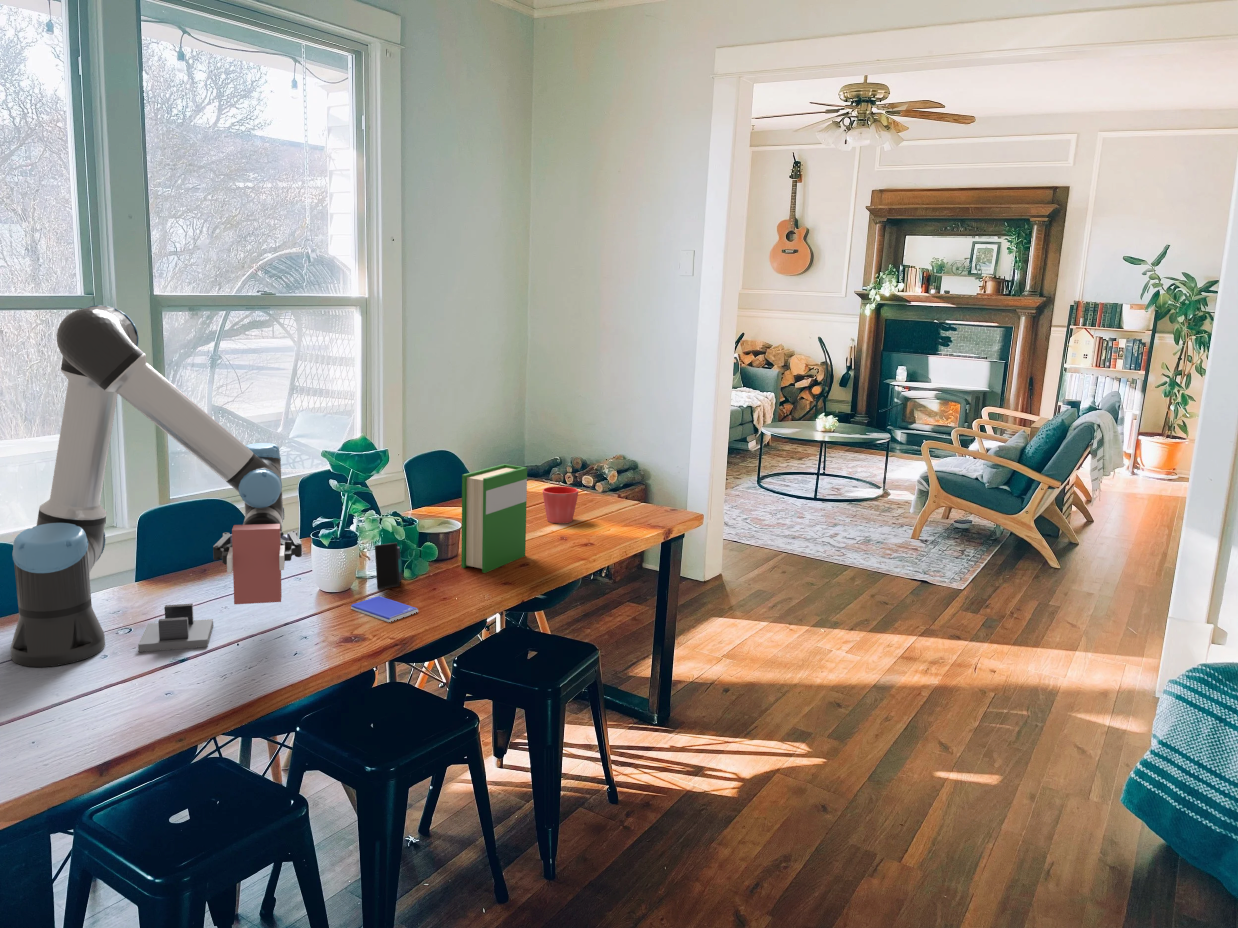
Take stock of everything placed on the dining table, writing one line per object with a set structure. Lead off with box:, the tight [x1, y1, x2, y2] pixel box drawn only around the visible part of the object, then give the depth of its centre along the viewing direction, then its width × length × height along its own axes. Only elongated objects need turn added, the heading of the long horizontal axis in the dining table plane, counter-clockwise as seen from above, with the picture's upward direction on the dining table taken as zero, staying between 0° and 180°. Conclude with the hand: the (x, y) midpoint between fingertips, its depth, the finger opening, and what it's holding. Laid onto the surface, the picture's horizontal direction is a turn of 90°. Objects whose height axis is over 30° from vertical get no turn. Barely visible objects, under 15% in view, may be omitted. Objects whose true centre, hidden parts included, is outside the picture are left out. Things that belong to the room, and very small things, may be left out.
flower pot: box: [541, 485, 579, 524], centre depth 281 cm, size 11×11×10 cm
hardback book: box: [460, 463, 528, 574], centre depth 237 cm, size 18×7×24 cm, turn 151°
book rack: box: [137, 603, 214, 653], centre depth 181 cm, size 12×11×6 cm
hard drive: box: [350, 595, 419, 623], centre depth 201 cm, size 2×8×12 cm
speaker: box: [374, 542, 403, 590], centre depth 218 cm, size 8×6×10 cm
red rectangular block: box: [231, 524, 283, 605], centre depth 169 cm, size 8×4×14 cm, turn 108°
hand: (255, 563), depth 164 cm, fingers closed on red rectangular block, 8 cm apart
